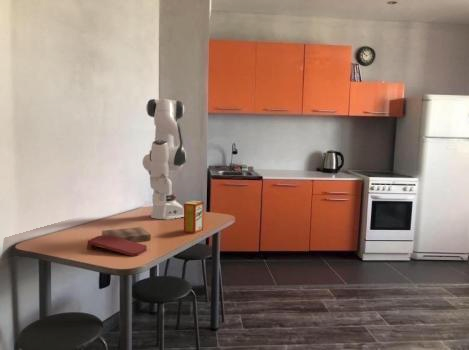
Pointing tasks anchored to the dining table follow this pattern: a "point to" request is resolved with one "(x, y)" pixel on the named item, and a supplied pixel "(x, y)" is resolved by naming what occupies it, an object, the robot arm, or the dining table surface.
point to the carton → (116, 245)
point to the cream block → (158, 199)
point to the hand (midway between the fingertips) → (159, 199)
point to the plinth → (129, 234)
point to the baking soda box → (193, 216)
